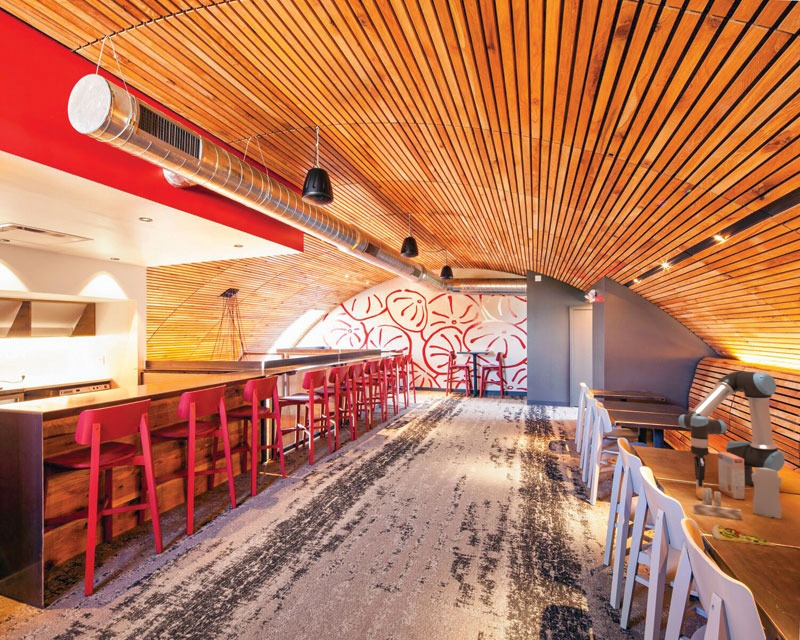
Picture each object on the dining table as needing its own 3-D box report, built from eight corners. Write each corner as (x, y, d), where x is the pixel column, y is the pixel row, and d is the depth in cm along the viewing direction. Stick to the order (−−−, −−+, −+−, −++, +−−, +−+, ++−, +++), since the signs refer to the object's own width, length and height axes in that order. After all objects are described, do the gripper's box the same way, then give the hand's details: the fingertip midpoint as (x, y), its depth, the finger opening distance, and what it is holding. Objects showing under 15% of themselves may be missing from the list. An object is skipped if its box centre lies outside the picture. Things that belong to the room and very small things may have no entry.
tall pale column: (781, 517, 198) (780, 468, 200) (782, 520, 195) (781, 471, 196) (752, 511, 205) (751, 464, 206) (752, 514, 201) (751, 466, 202)
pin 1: (707, 507, 208) (707, 490, 209) (709, 509, 206) (708, 491, 207) (701, 507, 209) (701, 489, 210) (703, 508, 207) (702, 491, 207)
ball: (708, 486, 221) (711, 491, 215) (708, 497, 221) (711, 503, 216) (694, 484, 223) (697, 489, 218) (694, 495, 224) (697, 501, 218)
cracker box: (746, 500, 220) (745, 458, 221) (732, 499, 221) (731, 458, 222) (730, 490, 233) (729, 452, 234) (718, 490, 235) (717, 451, 236)
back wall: (740, 518, 196) (739, 509, 197) (741, 519, 195) (741, 511, 195) (693, 511, 203) (693, 503, 203) (694, 513, 201) (694, 504, 202)
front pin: (711, 505, 212) (710, 488, 212) (712, 507, 209) (712, 489, 210) (705, 504, 213) (704, 487, 213) (706, 506, 210) (706, 488, 211)
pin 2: (720, 509, 207) (719, 491, 207) (721, 511, 204) (721, 493, 205) (714, 508, 207) (713, 490, 208) (715, 510, 205) (715, 492, 206)
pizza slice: (712, 527, 188) (712, 520, 188) (774, 541, 175) (774, 534, 175) (711, 540, 175) (711, 533, 175) (778, 556, 163) (778, 548, 163)
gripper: (688, 442, 232) (688, 487, 231) (693, 448, 220) (694, 494, 219) (704, 444, 229) (705, 489, 228) (711, 449, 217) (712, 497, 216)
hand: (699, 492), depth 223 cm, fingers closed
